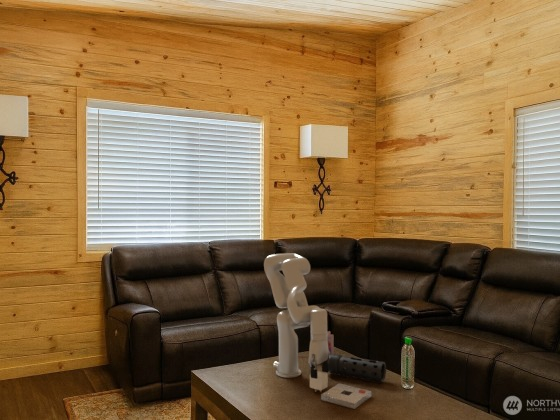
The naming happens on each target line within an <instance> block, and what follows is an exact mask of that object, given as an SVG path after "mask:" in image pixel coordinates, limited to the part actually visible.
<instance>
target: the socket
mask: <svg viewBox="0 0 560 420" xmlns="http://www.w3.org/2000/svg"><path fill="white" fill-rule="evenodd" d="M370 398H372V390H368V389H364V388H360V387H355V386H351V385H347V384H343V383H337V384H336V385H334V386H333V387H331V388H329V389H328V390H326V391H325V392H322V393H321V394H320V400H321V401H322V402H326V403H330V404H333V405H337V406H341V407H344V408H347V409H351V410H356V409H357V408H359V407H360V406H361V405H363V404H364V403H365V402H366V401H368V400H369V399H370Z"/></svg>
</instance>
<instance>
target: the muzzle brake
mask: <svg viewBox="0 0 560 420" xmlns="http://www.w3.org/2000/svg"><path fill="white" fill-rule="evenodd" d="M329 357H330V358H329V363H328V364H329V372H328V373H330V374H333V375H339V377H342V378H347V377H350V378H355V379H356V378H357V379H358V380H363V381H367V382H372V383H379V384H383V383H384V381H385V379H386V374H387V364H386V362H385V361H381V360H380V361H378V360H374V359H367V358H360V357H354V356H353V357H352V356H348V355H344V356H343V355H341V354H340V353H339V354H338V353H334V354H330V356H329Z"/></svg>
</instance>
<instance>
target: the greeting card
mask: <svg viewBox="0 0 560 420" xmlns="http://www.w3.org/2000/svg"><path fill="white" fill-rule="evenodd" d="M334 340H335V339H334V334H331V331H330V330H329V331H328V330H327V341H328V351H329V352H330V354H335V351H334V348H335V347H334V346H335V345H334V344H335V343H334V342H335V341H334Z"/></svg>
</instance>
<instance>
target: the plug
mask: <svg viewBox="0 0 560 420" xmlns="http://www.w3.org/2000/svg"><path fill="white" fill-rule="evenodd" d="M328 373H329V372H328ZM328 373H327V372H322V371H320V370H317V376H318V378H317V379H315V378H311V373H310V374H308V375H307V376H308V378H309V388H311V389H314V392H315V393H317V391H319V393H323V392H322V391H323V390H325V389H326V388H328V383H329V382H328V377H329V376H328Z"/></svg>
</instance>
